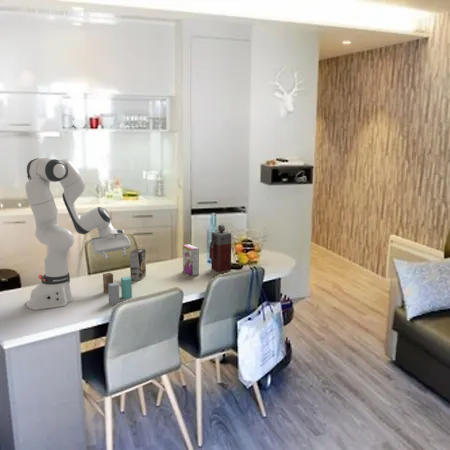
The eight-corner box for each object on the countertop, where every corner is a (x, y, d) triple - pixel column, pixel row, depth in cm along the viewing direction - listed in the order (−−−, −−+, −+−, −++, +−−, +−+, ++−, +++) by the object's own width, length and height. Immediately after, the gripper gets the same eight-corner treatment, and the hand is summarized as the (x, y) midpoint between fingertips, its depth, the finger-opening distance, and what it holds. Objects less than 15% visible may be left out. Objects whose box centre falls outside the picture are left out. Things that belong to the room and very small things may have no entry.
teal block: (124, 298, 263) (124, 280, 261) (121, 296, 267) (120, 278, 264) (131, 297, 266) (131, 278, 263) (128, 295, 269) (128, 276, 267)
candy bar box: (182, 271, 310) (182, 244, 307) (189, 269, 313) (189, 243, 310) (192, 276, 301) (191, 249, 298) (199, 274, 304) (199, 247, 300)
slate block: (112, 305, 254) (111, 286, 252) (108, 302, 258) (108, 283, 255) (119, 303, 257) (118, 284, 254) (116, 301, 260) (115, 282, 258)
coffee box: (140, 280, 293) (140, 253, 289) (130, 279, 294) (129, 252, 290) (146, 275, 301) (145, 249, 298) (136, 274, 303) (135, 248, 299)
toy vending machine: (207, 269, 315) (208, 224, 309) (223, 266, 321) (223, 222, 315) (215, 273, 307) (215, 227, 301) (231, 270, 313) (231, 225, 307)
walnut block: (106, 293, 270) (105, 275, 268) (103, 291, 273) (102, 273, 271) (113, 292, 272) (112, 274, 270) (110, 290, 276) (110, 272, 274)
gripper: (90, 235, 270) (98, 257, 264) (126, 230, 281) (135, 251, 276) (88, 241, 274) (96, 263, 269) (123, 236, 286) (132, 257, 280)
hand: (116, 257), depth 272 cm, fingers open, 8 cm apart
